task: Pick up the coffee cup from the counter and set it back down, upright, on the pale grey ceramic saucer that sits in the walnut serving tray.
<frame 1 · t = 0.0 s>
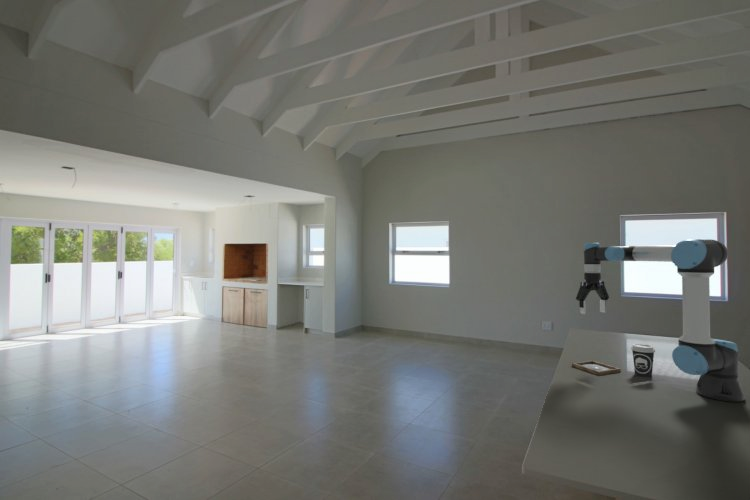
hand: (592, 313, 206), 28 cm above the kitchen island counter, fingers open, 13 cm apart
saucer: (595, 369, 198), resting on tray
coffee cup: (643, 377, 189), on the kitchen island counter
tray: (595, 371, 198), on the kitchen island counter
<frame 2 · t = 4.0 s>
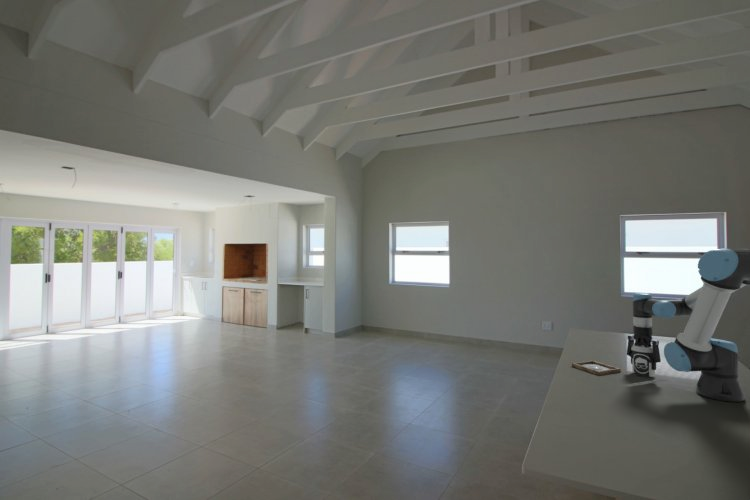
hand: (643, 373, 189), 2 cm above the kitchen island counter, fingers closed on coffee cup, 7 cm apart
coffee cup: (643, 377, 189), on the kitchen island counter, touching gripper
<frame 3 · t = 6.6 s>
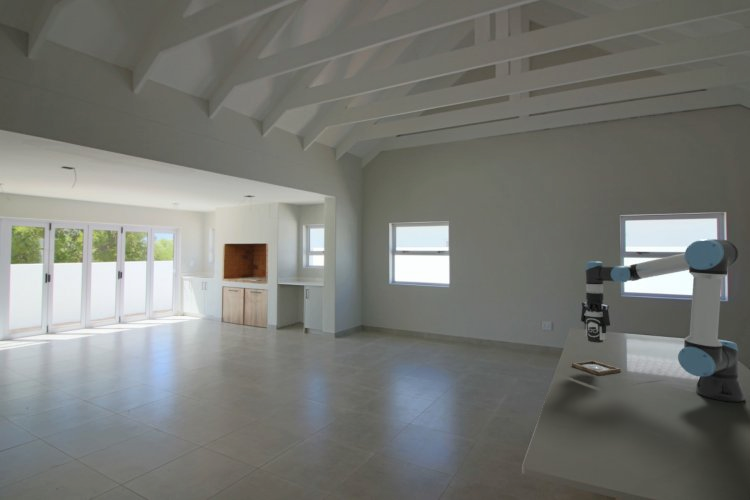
hand: (595, 337, 198), 17 cm above the kitchen island counter, fingers closed on coffee cup, 7 cm apart
coffee cup: (595, 341, 198), point 15 cm above the kitchen island counter, touching gripper
when the fingers open (5 cm above the kitchen island counter, at t = 9.4 s): coffee cup drops 1 cm, resting on saucer.
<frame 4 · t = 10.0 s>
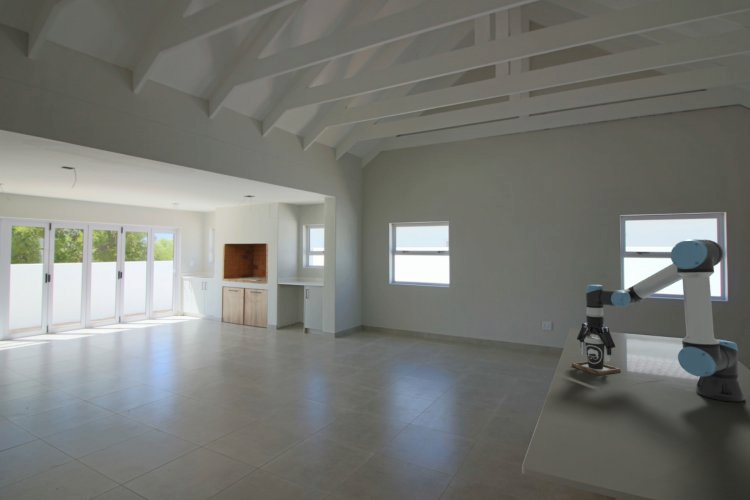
hand: (595, 358, 198), 7 cm above the kitchen island counter, fingers open, 13 cm apart
coffee cup: (595, 367, 198), point 2 cm above the kitchen island counter, touching saucer
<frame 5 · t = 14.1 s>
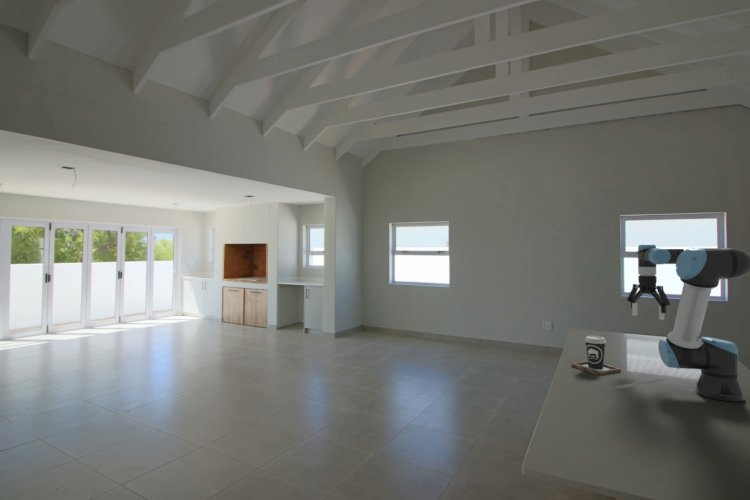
hand: (647, 317, 198), 27 cm above the kitchen island counter, fingers open, 13 cm apart
nothing on the kitchen island counter moved.
at the end: coffee cup 0.1 cm from the saucer (horizontally); coffee cup tilted 1°; the gripper is holding nothing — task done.
